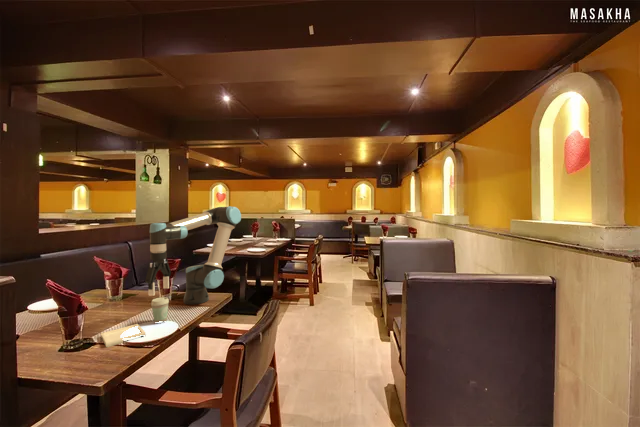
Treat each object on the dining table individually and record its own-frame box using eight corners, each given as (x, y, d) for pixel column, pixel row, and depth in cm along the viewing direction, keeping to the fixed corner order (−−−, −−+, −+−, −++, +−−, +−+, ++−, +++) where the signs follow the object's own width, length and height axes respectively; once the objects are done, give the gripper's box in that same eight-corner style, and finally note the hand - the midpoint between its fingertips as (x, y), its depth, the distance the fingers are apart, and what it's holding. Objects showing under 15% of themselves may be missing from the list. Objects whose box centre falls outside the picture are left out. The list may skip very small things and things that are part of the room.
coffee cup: (161, 325, 148) (160, 302, 148) (147, 324, 150) (146, 301, 149) (173, 319, 156) (172, 297, 156) (159, 318, 158) (159, 296, 158)
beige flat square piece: (137, 327, 146) (137, 323, 146) (145, 336, 135) (145, 332, 135) (100, 337, 135) (100, 333, 135) (106, 347, 125) (106, 343, 125)
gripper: (164, 248, 165) (165, 285, 165) (136, 255, 140) (137, 298, 140) (177, 248, 165) (178, 285, 165) (151, 255, 140) (152, 298, 140)
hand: (159, 291), depth 152 cm, fingers open, 13 cm apart
